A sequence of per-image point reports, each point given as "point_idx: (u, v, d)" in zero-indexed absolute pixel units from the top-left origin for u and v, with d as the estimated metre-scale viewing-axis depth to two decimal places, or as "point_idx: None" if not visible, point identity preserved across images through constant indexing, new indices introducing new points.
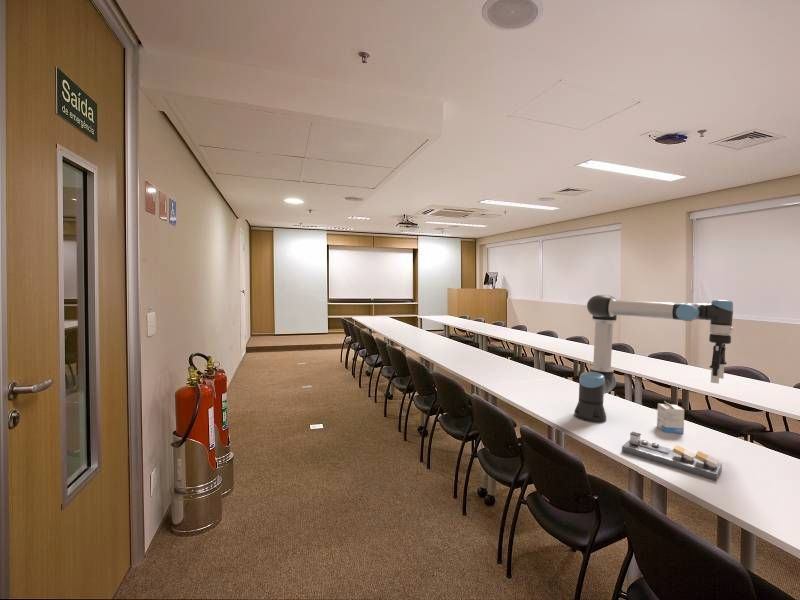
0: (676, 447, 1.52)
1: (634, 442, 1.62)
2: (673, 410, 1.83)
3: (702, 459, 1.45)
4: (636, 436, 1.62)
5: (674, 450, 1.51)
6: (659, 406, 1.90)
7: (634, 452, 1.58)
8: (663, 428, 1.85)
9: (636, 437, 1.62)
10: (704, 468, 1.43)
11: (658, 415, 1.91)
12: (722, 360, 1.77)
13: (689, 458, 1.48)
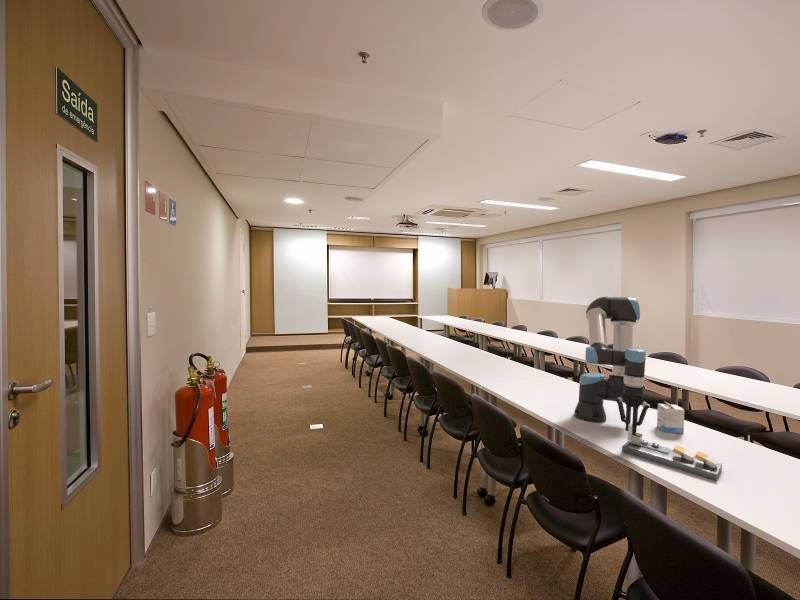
0: (676, 447, 1.52)
1: (636, 442, 1.62)
2: (673, 410, 1.83)
3: (702, 459, 1.45)
4: (638, 436, 1.61)
5: (674, 450, 1.51)
6: (659, 406, 1.90)
7: (634, 452, 1.58)
8: (663, 428, 1.85)
9: (638, 437, 1.61)
10: (704, 468, 1.43)
11: (658, 415, 1.91)
12: None
13: (689, 458, 1.48)
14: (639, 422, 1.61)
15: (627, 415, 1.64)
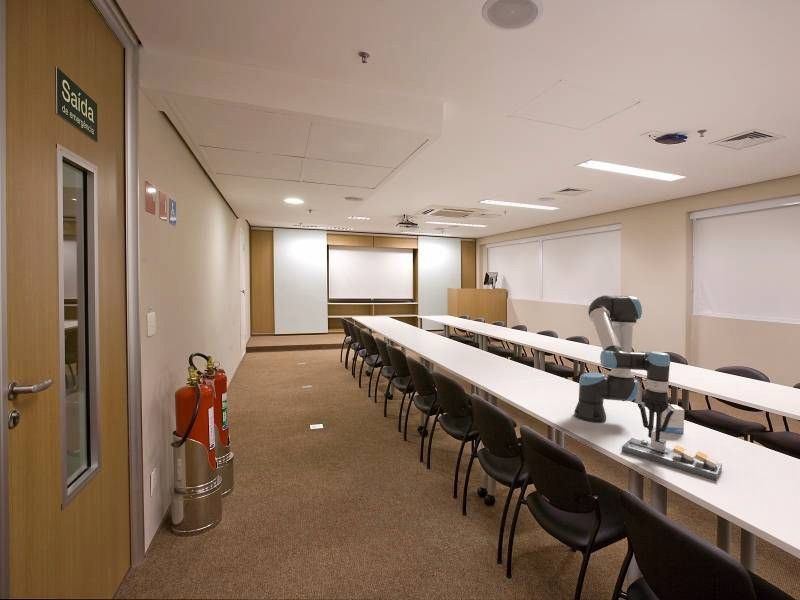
0: (676, 447, 1.52)
1: (659, 449, 1.56)
2: None
3: (702, 459, 1.45)
4: (662, 443, 1.55)
5: (674, 450, 1.51)
6: None
7: (634, 452, 1.58)
8: None
9: (662, 444, 1.55)
10: (704, 468, 1.43)
11: None
12: None
13: (689, 458, 1.48)
14: (663, 428, 1.55)
15: (650, 421, 1.58)
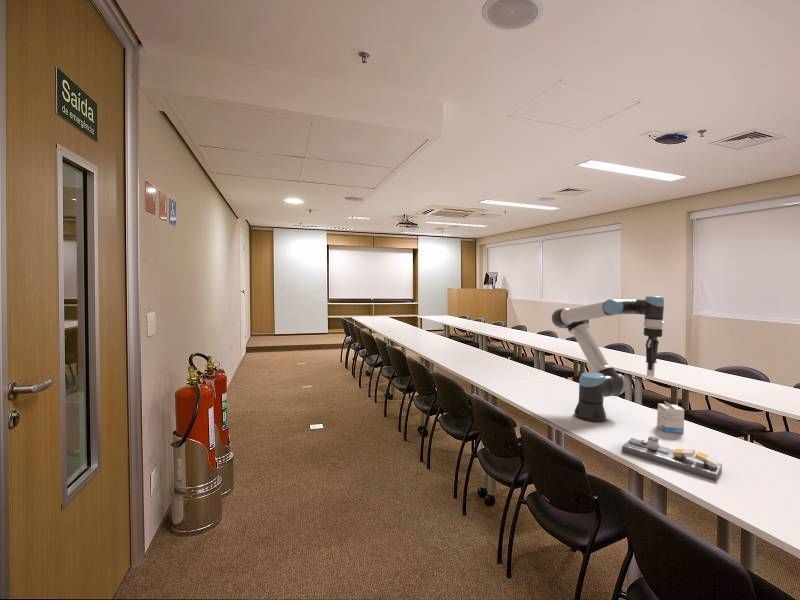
0: (675, 450, 1.53)
1: (652, 447, 1.57)
2: (673, 410, 1.83)
3: (702, 459, 1.45)
4: (654, 441, 1.57)
5: (674, 454, 1.51)
6: (659, 406, 1.90)
7: (634, 452, 1.58)
8: (663, 428, 1.85)
9: (654, 442, 1.57)
10: (704, 468, 1.43)
11: (658, 415, 1.91)
12: None
13: (689, 455, 1.48)
14: None
15: (653, 355, 1.84)
